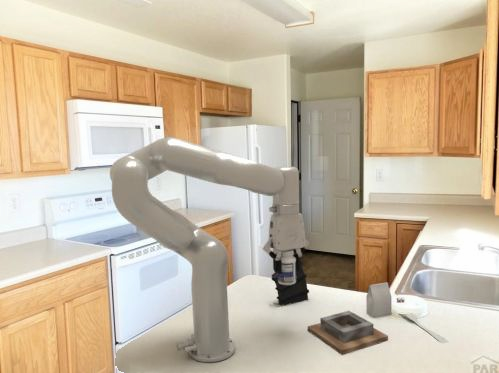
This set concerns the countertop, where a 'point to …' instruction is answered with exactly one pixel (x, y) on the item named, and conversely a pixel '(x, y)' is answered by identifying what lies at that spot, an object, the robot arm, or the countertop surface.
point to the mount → (347, 332)
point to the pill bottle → (287, 268)
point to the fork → (438, 337)
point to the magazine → (292, 288)
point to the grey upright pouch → (378, 300)
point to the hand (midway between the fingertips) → (286, 270)
